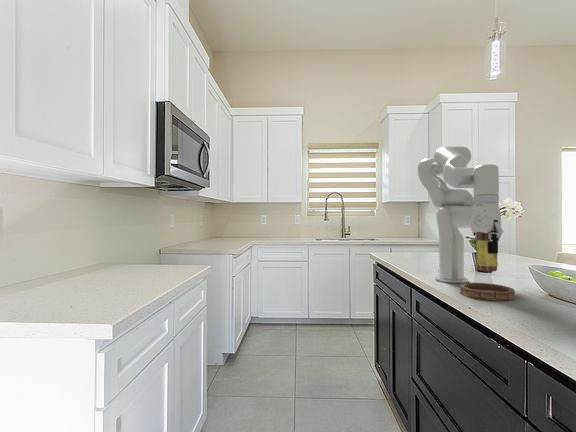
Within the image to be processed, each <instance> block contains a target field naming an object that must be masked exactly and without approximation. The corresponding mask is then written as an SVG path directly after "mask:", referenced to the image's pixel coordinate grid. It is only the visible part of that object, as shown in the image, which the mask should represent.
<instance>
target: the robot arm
mask: <svg viewBox="0 0 576 432" xmlns="http://www.w3.org/2000/svg"><path fill="white" fill-rule="evenodd" d="M471 159H472V153H471V151H470V149H469V148H468V147H466V146H442V147H439V148H438V149H436V151H435V152H434V154H433V157H428V158H424V159H422V160H421V161H420V162H419V163H418V165H417V176H418V179H419V181H420V183H421V185H422V186H423V187H424V188H425V190H426V191H427V193H428V195H429V198H430V199H431V202H432V204H433V206H434V207H435V209H437V211H436V215H435V216H436V217H435V218H436V223H437V229H438V269H437V272H438V275H435V277H434V278H435V279H434V280H435V281H439V282H442V283H443V282H444V283H451V284H463V283H469V278H468V277H466V276H465V238H464V235H463V234H462V233H461V231H460V230H459V229H470V231H471V232H472V233H473V236H474V240H475V245H476V233H477V232H481V233H487V235H488V239H489V241H490V242H488V253H489V254H497V255H498V253H499V241H500V238H501V236H502V234H503V233H504V230H503V229H502V219H501V216H502V215H501V210H500V188H499V187H500V184H499V183H500V179H499V178H500V168H499V166H498V165H496V164H492V163H491V164H480V165H477V166H475V167H468V164H469V163H470V161H471ZM441 177H443V178H441ZM448 185H449V186H450V187H452V188H450V187H448ZM454 188H455V189H454ZM467 189H473V195H472V193H471V192H470V191H468V190H467ZM490 231H493V232H490ZM492 235H493V236H492Z"/></svg>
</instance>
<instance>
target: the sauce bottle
mask: <svg viewBox="0 0 576 432" xmlns="http://www.w3.org/2000/svg"><path fill="white" fill-rule="evenodd" d="M490 232H493V231H490ZM492 236H493V235H492ZM488 242H490V241H489V239H488V235H487V233H481V232H477V233H476V244H475V253H476V254H475V255H476V267H477V268H476V270H478V271H481V272H497V271H498V265H499V264H498V253H497V254H489V253H488Z"/></svg>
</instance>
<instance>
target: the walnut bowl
mask: <svg viewBox="0 0 576 432" xmlns="http://www.w3.org/2000/svg"><path fill="white" fill-rule="evenodd" d="M459 286H460V287H459V292H460V293H459V294H461V295H462V296H465V297H468V298H471V299H475V300H482V301H493V302H509V301H513V300H515V297H516V290H515V289H514V288H513V287H510V286H507V285H501V284H495V283H490V282H489V283H486V282H466V283H459Z"/></svg>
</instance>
